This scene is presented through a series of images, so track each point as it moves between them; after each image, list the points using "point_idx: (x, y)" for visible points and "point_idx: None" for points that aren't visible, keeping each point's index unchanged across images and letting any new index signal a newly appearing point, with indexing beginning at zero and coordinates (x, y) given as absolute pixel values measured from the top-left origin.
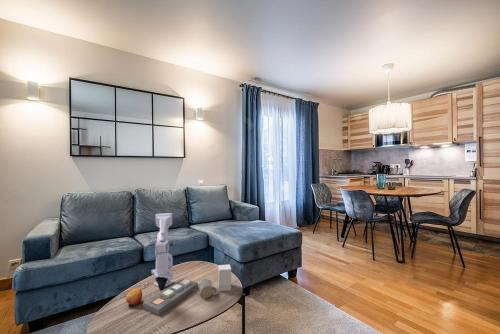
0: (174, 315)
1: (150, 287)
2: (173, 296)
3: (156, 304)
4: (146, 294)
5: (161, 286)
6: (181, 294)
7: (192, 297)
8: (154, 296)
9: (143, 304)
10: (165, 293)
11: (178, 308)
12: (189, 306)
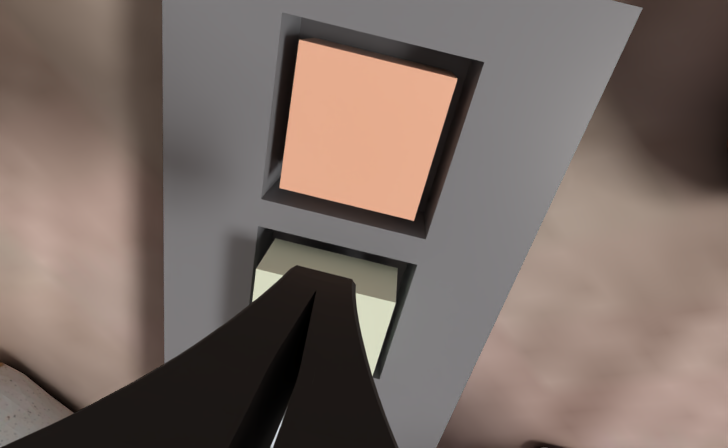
0: (26, 6)
1: (723, 439)
2: (226, 294)
3: (334, 47)
4: (711, 320)
5: (216, 331)
6: (165, 348)
7: (125, 355)
8: (515, 240)
9: (609, 5)
10: None
11: (103, 156)
12: (25, 220)
